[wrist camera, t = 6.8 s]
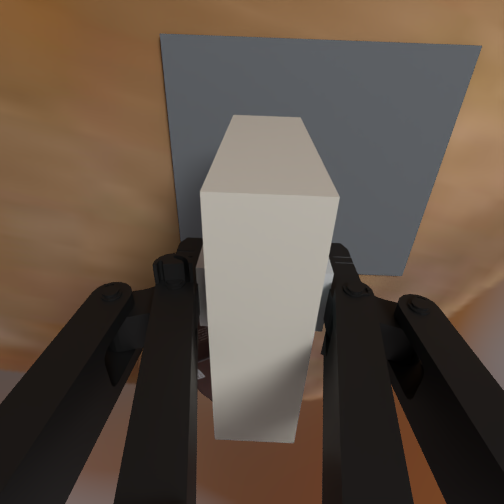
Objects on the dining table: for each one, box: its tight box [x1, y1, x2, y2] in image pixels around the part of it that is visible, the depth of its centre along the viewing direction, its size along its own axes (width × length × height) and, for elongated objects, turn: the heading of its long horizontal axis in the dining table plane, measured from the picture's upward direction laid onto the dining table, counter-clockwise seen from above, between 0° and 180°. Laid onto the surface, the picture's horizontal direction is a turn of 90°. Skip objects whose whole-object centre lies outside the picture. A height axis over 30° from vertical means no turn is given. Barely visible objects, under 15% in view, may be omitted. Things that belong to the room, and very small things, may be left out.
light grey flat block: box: [200, 115, 340, 443], centre depth 13 cm, size 3×10×9 cm, turn 178°
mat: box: [160, 34, 482, 276], centre depth 23 cm, size 18×16×1 cm
